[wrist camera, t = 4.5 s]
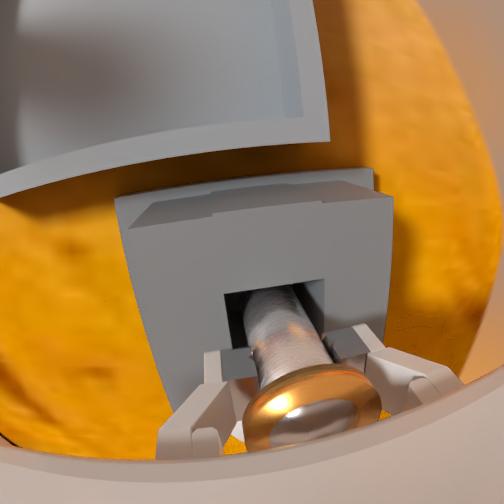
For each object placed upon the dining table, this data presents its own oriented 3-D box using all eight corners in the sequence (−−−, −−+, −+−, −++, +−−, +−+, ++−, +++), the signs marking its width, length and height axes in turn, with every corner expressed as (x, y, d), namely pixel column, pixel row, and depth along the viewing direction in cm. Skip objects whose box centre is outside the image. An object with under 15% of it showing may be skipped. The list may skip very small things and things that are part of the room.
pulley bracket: (352, 398, 22) (383, 454, 16) (184, 428, 21) (183, 493, 15) (364, 166, 16) (432, 181, 11) (119, 195, 15) (73, 223, 9)
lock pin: (294, 302, 17) (370, 449, 8) (227, 312, 17) (252, 477, 7) (290, 238, 16) (391, 363, 6) (218, 248, 16) (235, 397, 6)
